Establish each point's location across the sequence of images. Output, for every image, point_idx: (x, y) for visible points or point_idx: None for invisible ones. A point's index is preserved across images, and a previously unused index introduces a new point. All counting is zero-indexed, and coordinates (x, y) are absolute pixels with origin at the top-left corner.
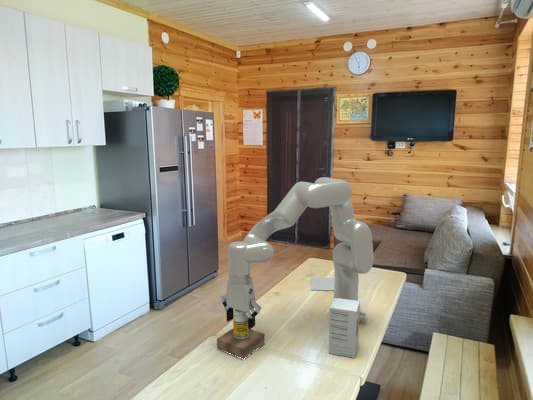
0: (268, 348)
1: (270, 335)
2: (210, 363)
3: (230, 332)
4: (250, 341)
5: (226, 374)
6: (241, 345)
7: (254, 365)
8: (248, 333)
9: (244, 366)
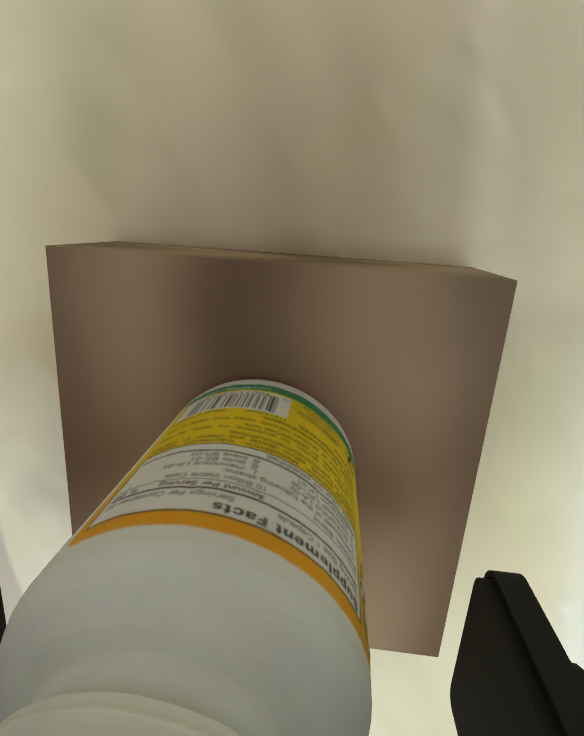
0: (545, 317)
1: (447, 38)
2: None
3: (101, 457)
4: (428, 517)
5: (392, 730)
6: (379, 616)
7: (533, 589)
8: (354, 469)
9: (462, 626)
